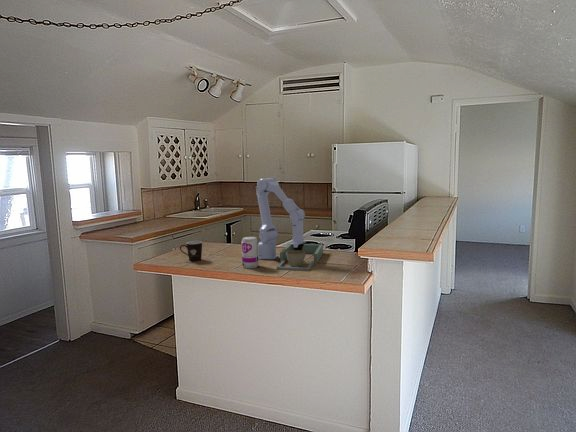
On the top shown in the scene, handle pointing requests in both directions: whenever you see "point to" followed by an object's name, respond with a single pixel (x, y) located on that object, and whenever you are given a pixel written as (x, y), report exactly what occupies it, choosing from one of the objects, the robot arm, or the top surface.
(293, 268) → the edging
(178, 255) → the top surface
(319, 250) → the cold frame
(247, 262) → the supplement can
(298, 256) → the flower pot
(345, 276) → the top surface
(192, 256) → the coffee mug
